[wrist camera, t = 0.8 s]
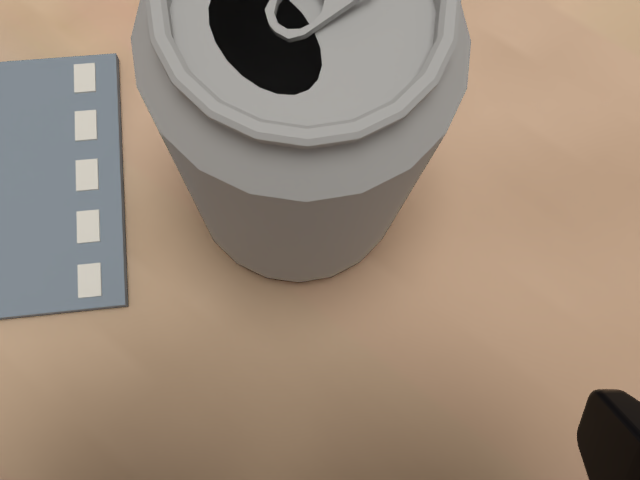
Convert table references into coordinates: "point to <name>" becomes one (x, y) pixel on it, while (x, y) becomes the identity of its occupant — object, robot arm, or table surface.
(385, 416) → the table surface
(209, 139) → the can
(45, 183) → the mat
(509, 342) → the table surface
